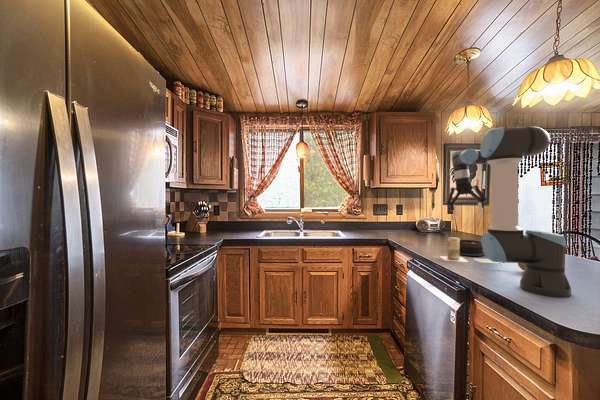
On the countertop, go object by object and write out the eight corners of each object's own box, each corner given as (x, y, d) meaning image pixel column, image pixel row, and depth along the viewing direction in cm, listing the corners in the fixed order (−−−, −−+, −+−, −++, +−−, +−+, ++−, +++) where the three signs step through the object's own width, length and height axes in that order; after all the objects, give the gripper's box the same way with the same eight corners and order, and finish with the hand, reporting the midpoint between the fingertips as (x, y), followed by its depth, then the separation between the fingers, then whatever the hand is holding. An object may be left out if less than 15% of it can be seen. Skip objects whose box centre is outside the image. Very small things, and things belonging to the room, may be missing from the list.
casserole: (489, 260, 161) (489, 245, 160) (452, 257, 169) (452, 243, 169) (484, 252, 183) (484, 239, 182) (451, 250, 191) (451, 237, 191)
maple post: (460, 260, 156) (461, 238, 156) (449, 259, 158) (449, 238, 158) (457, 257, 162) (457, 237, 162) (446, 257, 164) (446, 237, 163)
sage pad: (500, 265, 149) (500, 263, 149) (479, 264, 151) (479, 262, 151) (492, 260, 159) (492, 259, 159) (472, 260, 161) (472, 258, 161)
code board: (468, 263, 153) (468, 261, 153) (444, 262, 156) (444, 260, 156) (461, 258, 164) (461, 257, 164) (439, 257, 167) (439, 256, 167)
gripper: (483, 176, 161) (489, 213, 159) (437, 181, 166) (442, 217, 163) (489, 174, 154) (495, 212, 151) (441, 179, 158) (446, 216, 156)
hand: (468, 215), depth 157 cm, fingers open, 13 cm apart
